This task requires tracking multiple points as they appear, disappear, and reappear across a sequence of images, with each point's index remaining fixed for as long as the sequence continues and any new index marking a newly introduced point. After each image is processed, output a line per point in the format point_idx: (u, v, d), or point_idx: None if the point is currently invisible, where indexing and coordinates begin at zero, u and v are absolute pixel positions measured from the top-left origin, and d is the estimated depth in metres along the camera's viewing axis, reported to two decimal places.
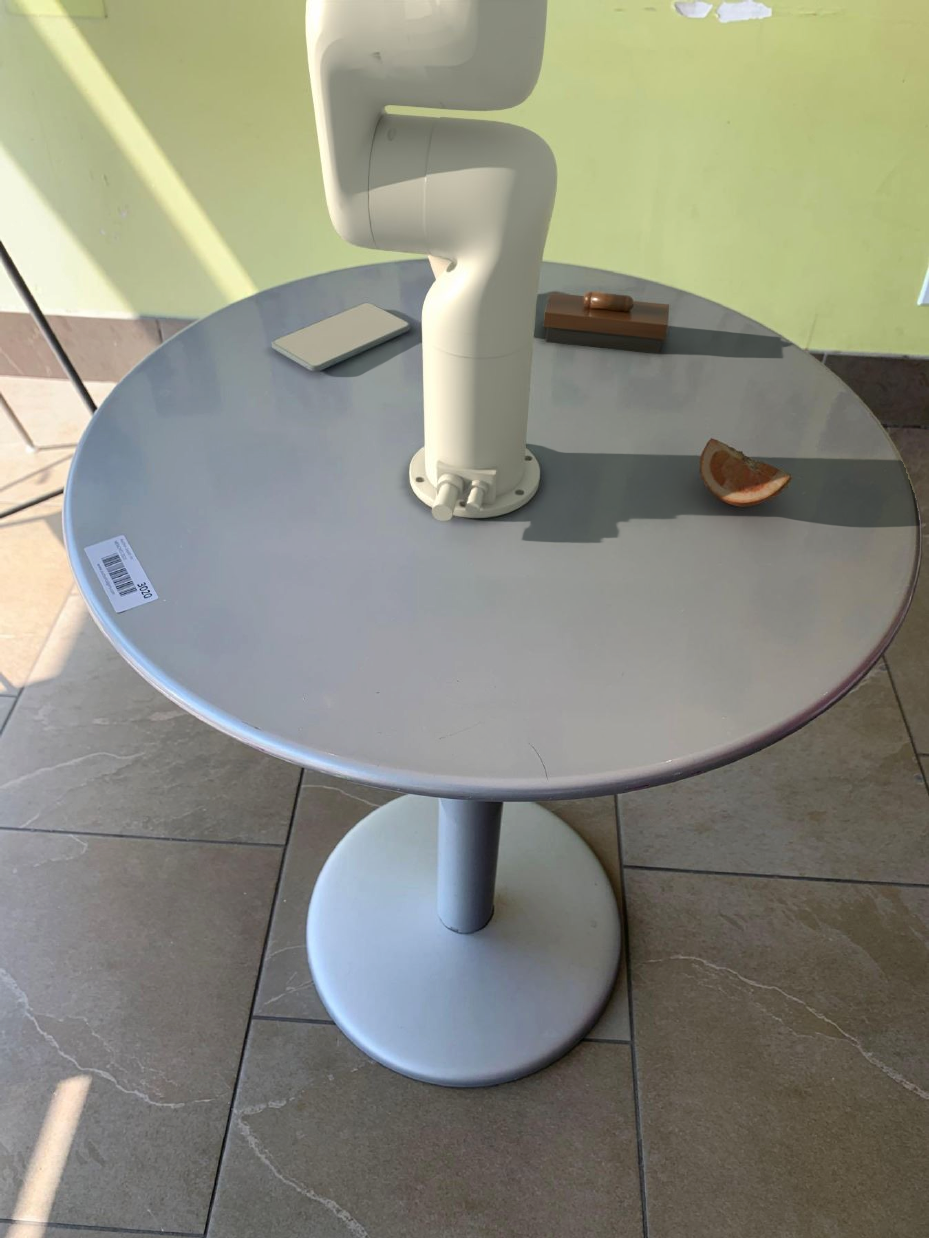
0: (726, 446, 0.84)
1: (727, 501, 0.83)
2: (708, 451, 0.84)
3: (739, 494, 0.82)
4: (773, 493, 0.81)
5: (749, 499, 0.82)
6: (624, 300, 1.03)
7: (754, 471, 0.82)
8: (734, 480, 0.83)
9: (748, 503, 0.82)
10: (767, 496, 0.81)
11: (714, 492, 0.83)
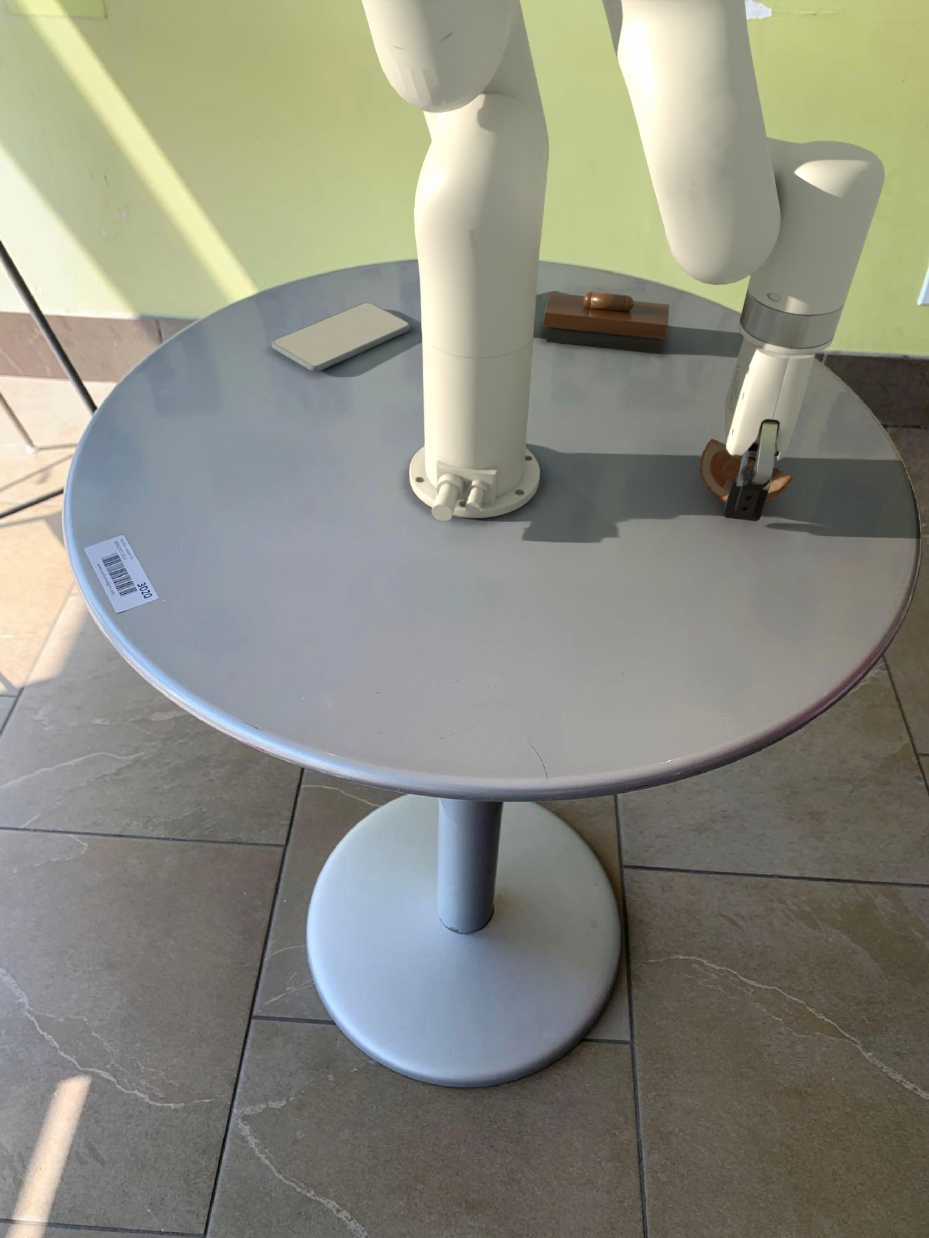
0: None
1: None
2: (708, 452, 0.84)
3: None
4: (774, 494, 0.81)
5: None
6: (624, 300, 1.03)
7: None
8: None
9: None
10: (767, 497, 0.81)
11: (714, 493, 0.83)
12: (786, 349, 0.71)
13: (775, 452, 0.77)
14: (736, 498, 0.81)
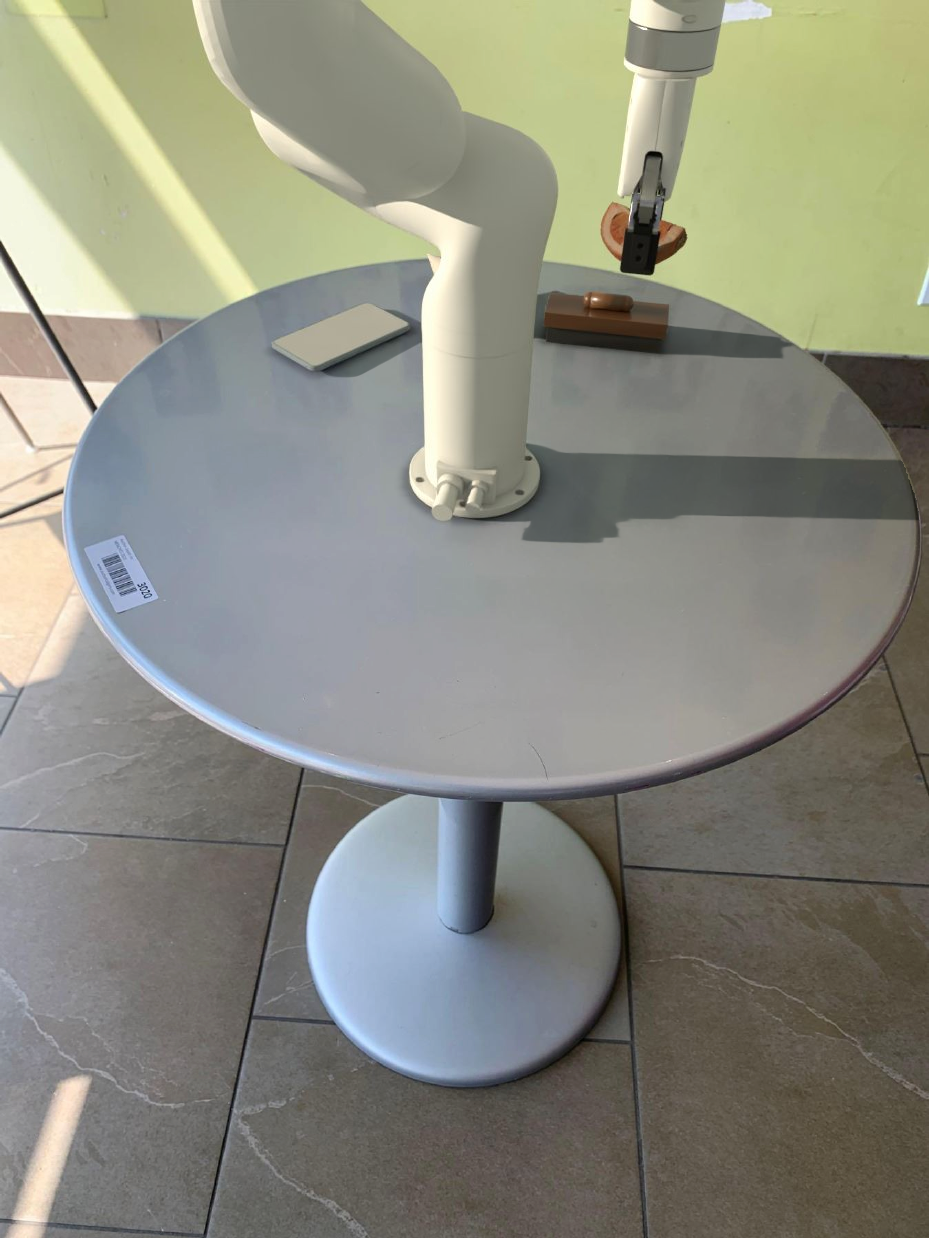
0: (626, 208, 0.87)
1: None
2: (609, 214, 0.87)
3: None
4: (667, 246, 0.84)
5: None
6: (624, 300, 1.03)
7: None
8: None
9: None
10: (662, 250, 0.84)
11: (613, 251, 0.86)
12: (664, 73, 0.74)
13: (663, 194, 0.80)
14: (630, 249, 0.84)
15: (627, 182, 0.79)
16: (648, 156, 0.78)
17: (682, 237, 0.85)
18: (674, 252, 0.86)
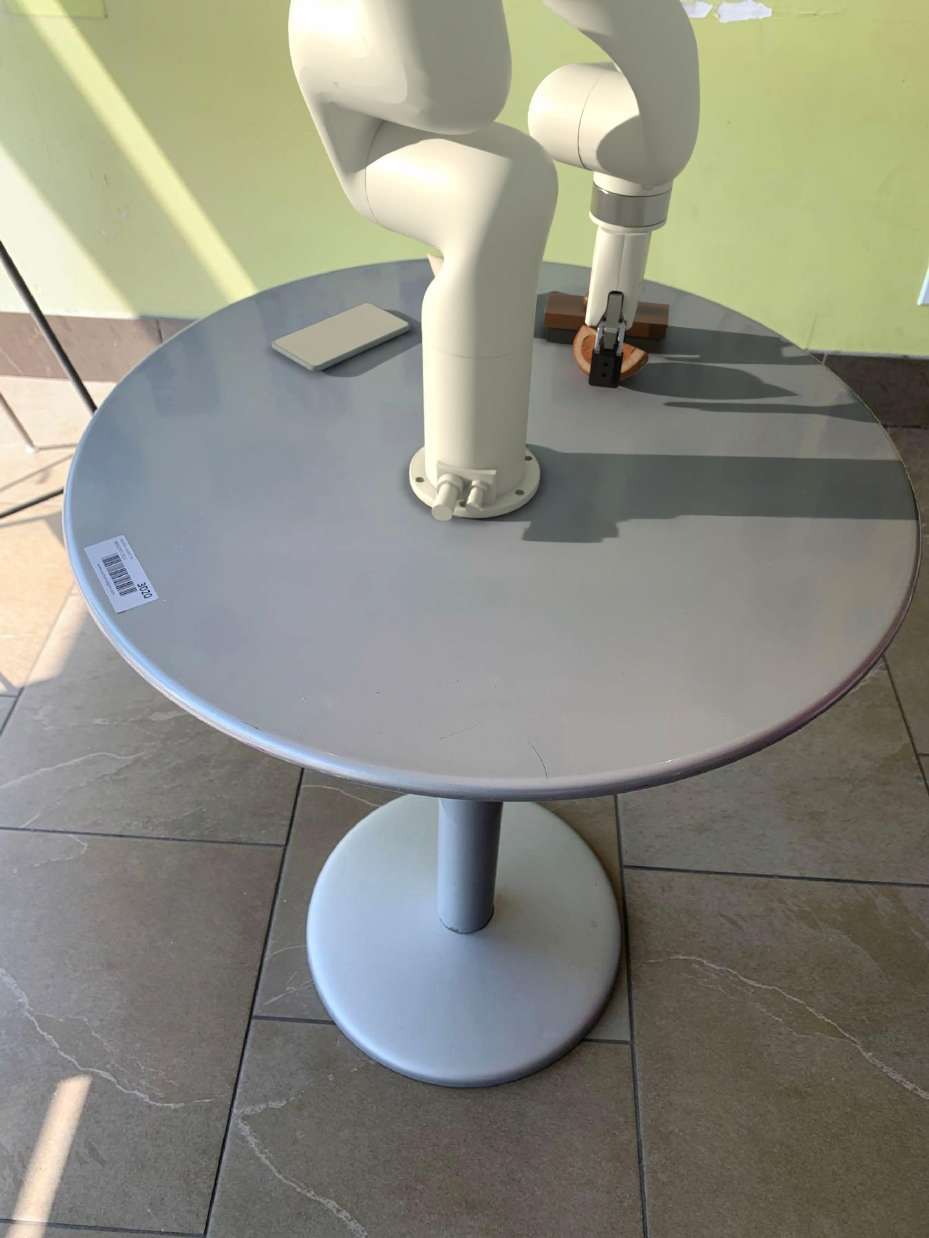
0: (594, 331, 0.99)
1: None
2: (580, 336, 0.99)
3: None
4: (631, 368, 0.96)
5: None
6: None
7: None
8: None
9: None
10: (626, 370, 0.96)
11: (584, 369, 0.98)
12: (623, 228, 0.85)
13: (625, 322, 0.91)
14: (597, 366, 0.94)
15: (593, 315, 0.90)
16: None
17: (644, 359, 0.97)
18: (637, 370, 0.98)
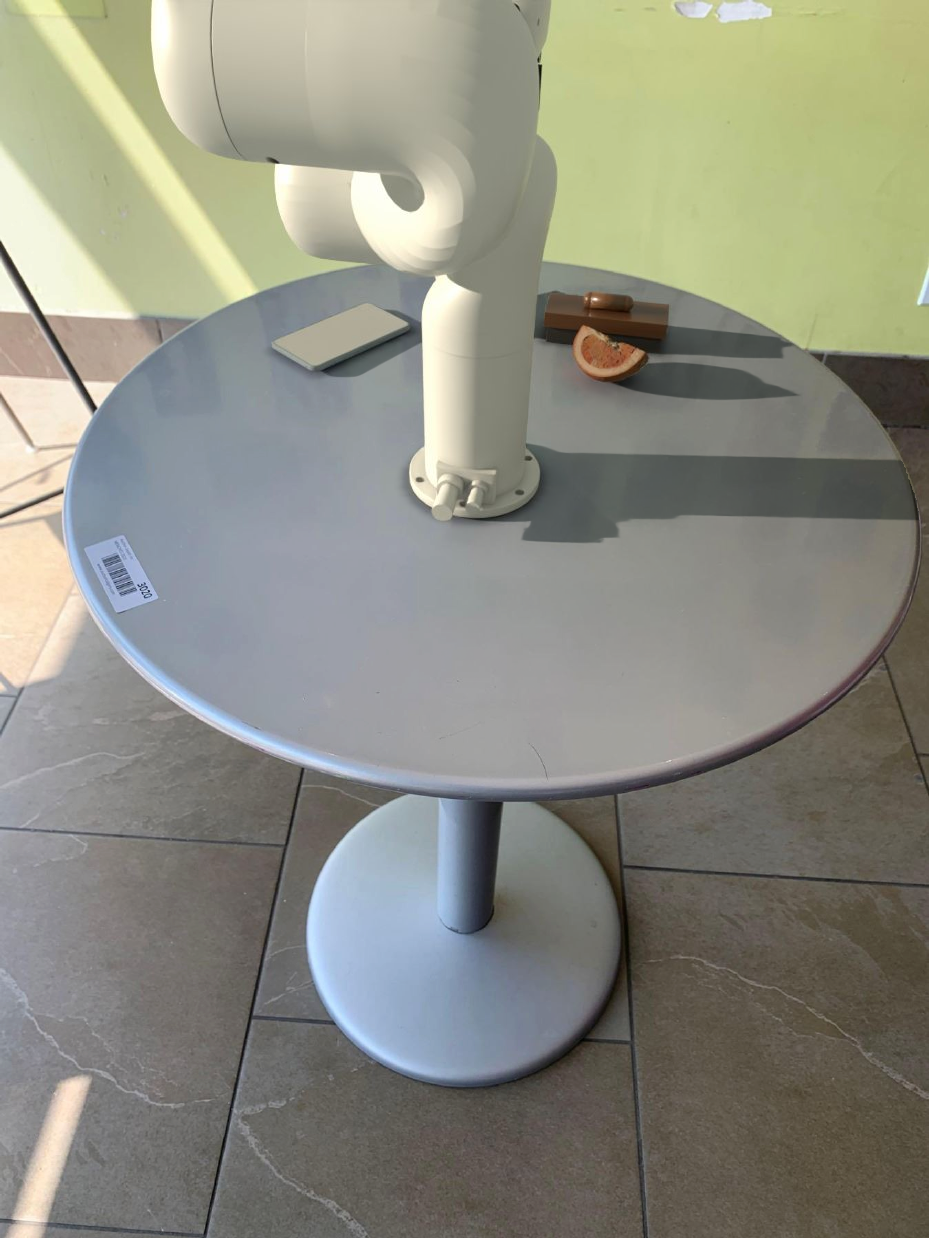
0: (594, 331, 0.99)
1: (594, 377, 0.98)
2: (580, 336, 0.99)
3: (603, 370, 0.97)
4: (631, 368, 0.96)
5: (612, 373, 0.97)
6: (624, 300, 1.03)
7: (616, 351, 0.97)
8: (600, 359, 0.98)
9: (611, 377, 0.97)
10: (626, 370, 0.96)
11: (584, 369, 0.98)
12: None
13: None
14: None
15: None
16: None
17: (644, 359, 0.97)
18: (637, 370, 0.98)
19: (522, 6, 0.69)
